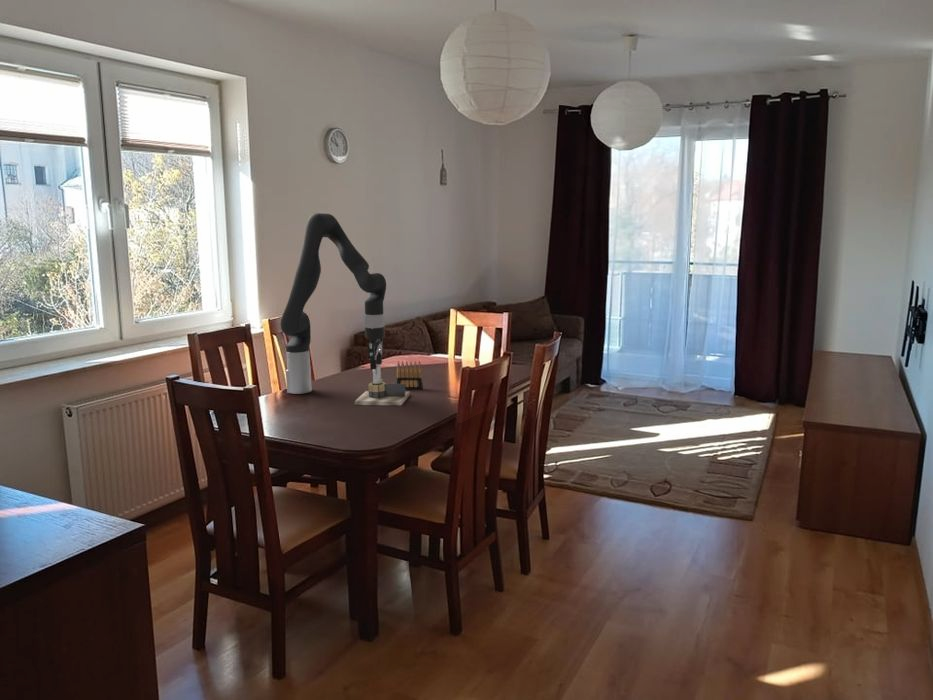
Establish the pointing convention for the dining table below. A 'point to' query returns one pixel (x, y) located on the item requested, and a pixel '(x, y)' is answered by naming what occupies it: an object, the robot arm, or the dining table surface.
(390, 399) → the base plate with nut
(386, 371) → the dining table surface
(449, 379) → the dining table surface
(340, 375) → the dining table surface
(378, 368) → the hinge pin
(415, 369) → the ammunition clip
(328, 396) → the dining table surface
